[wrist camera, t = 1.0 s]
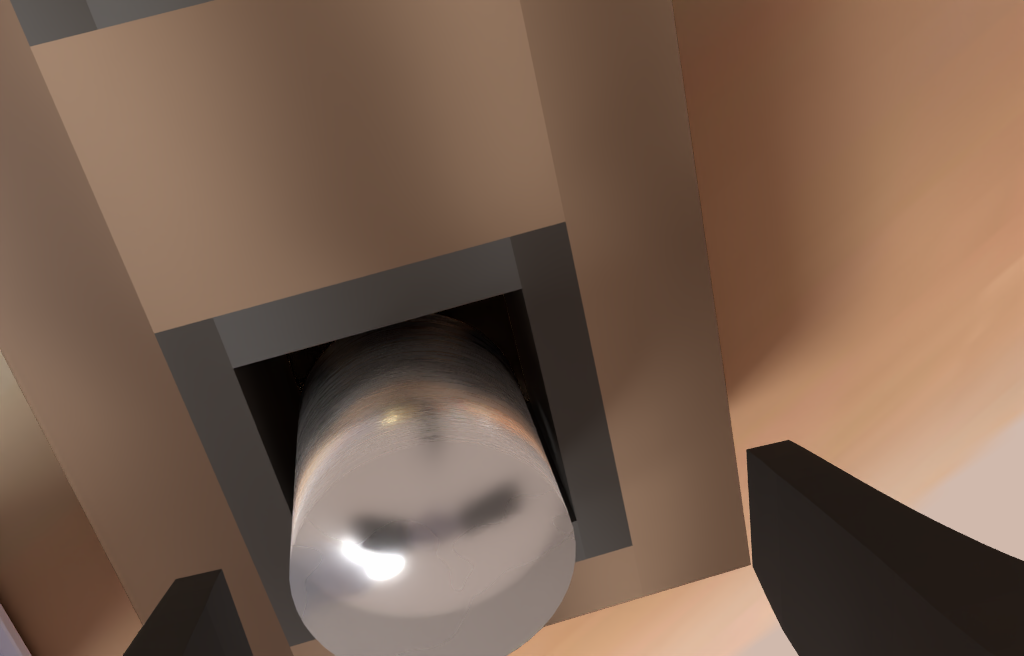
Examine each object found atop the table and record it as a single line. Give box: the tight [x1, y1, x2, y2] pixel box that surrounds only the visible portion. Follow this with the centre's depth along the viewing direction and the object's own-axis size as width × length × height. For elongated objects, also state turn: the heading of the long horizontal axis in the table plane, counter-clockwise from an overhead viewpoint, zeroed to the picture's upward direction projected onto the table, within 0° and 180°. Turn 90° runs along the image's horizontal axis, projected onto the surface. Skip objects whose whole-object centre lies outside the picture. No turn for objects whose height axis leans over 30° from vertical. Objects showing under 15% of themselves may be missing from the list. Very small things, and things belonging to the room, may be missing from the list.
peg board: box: [0, 0, 751, 656], centre depth 18 cm, size 12×22×5 cm, turn 12°
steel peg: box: [289, 314, 576, 656], centre depth 17 cm, size 4×4×5 cm
